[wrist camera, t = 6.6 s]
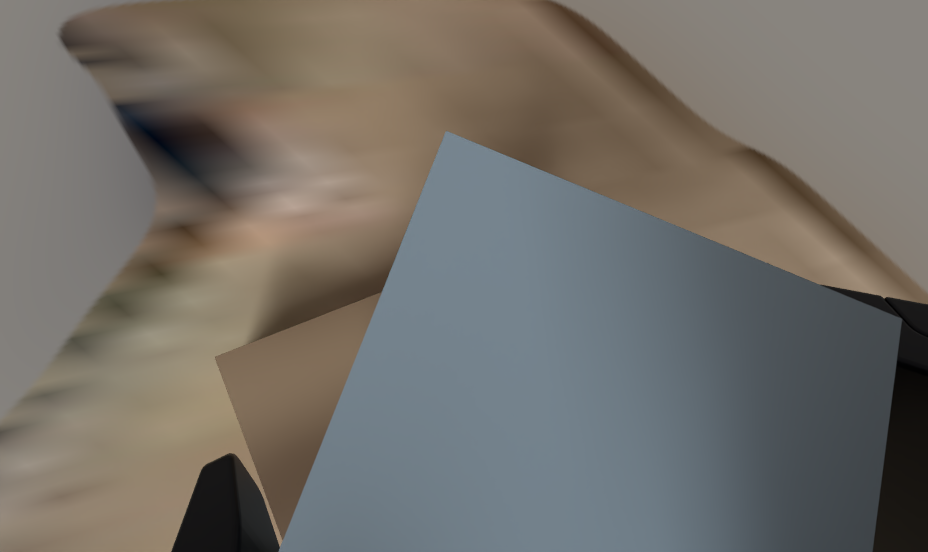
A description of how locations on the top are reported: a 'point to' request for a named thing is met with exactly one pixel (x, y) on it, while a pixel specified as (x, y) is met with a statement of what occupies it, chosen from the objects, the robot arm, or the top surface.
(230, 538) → the robot arm
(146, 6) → the top surface
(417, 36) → the top surface
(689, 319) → the pillar
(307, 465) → the base block
